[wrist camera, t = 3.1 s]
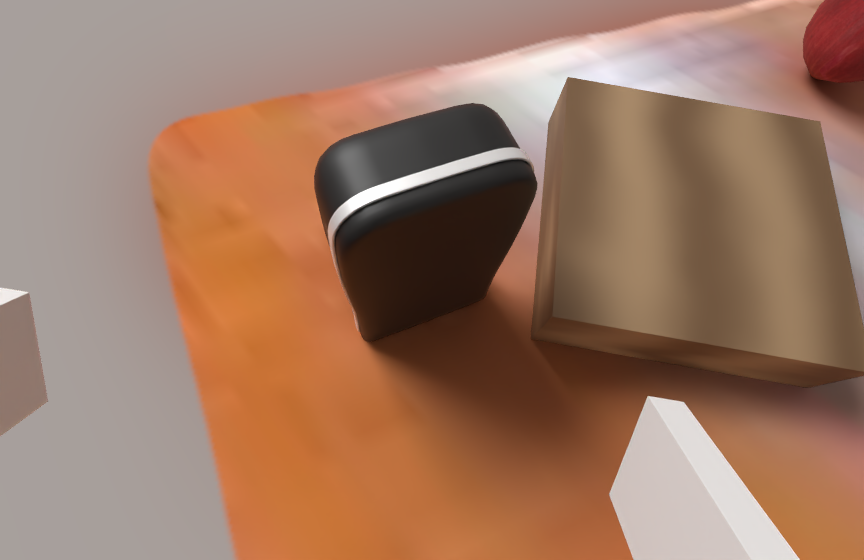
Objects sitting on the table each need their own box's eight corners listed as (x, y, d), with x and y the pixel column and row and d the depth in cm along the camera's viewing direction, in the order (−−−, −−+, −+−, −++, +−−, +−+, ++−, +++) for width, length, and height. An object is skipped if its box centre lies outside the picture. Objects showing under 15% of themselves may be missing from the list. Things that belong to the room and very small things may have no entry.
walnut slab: (767, 166, 29) (820, 121, 26) (799, 389, 24) (873, 373, 20) (546, 127, 29) (567, 77, 26) (528, 341, 24) (552, 316, 20)
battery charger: (460, 237, 25) (503, 68, 15) (490, 299, 24) (561, 161, 14) (336, 280, 24) (287, 127, 13) (361, 348, 23) (328, 237, 12)
